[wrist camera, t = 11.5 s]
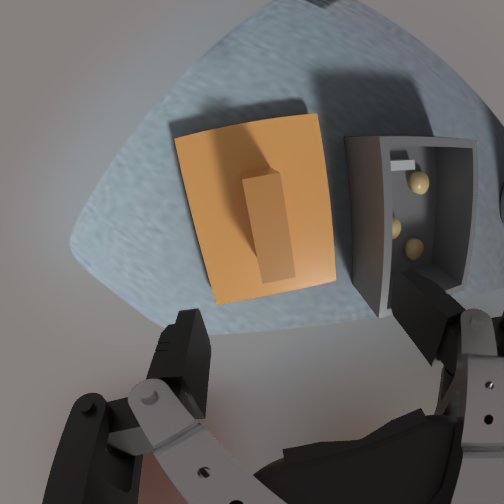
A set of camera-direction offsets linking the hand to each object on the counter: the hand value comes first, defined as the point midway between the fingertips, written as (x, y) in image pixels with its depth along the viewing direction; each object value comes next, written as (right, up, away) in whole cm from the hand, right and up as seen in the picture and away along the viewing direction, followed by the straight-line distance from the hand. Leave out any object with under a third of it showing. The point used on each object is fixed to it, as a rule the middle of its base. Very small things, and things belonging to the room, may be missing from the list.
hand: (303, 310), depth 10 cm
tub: (+14, +7, +16) cm, 22 cm away
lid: (-1, +6, +16) cm, 17 cm away
